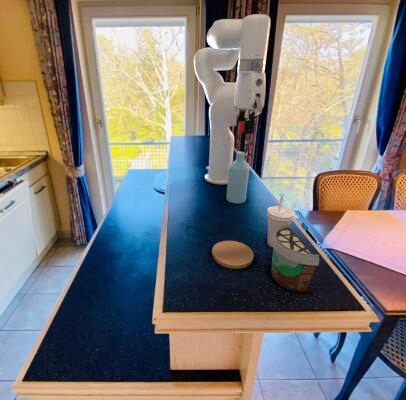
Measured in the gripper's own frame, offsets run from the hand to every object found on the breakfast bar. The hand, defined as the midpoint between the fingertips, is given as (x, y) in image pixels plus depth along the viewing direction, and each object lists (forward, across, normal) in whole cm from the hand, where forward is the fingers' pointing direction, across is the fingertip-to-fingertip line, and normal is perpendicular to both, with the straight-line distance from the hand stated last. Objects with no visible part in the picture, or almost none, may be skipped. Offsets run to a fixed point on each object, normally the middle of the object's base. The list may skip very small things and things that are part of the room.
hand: (244, 131), depth 83 cm
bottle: (+24, 0, 0) cm, 24 cm away
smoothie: (+24, -27, +5) cm, 37 cm away
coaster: (+24, -28, +18) cm, 41 cm away
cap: (0, 0, 0) cm, 0 cm away
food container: (+24, -38, +11) cm, 46 cm away
